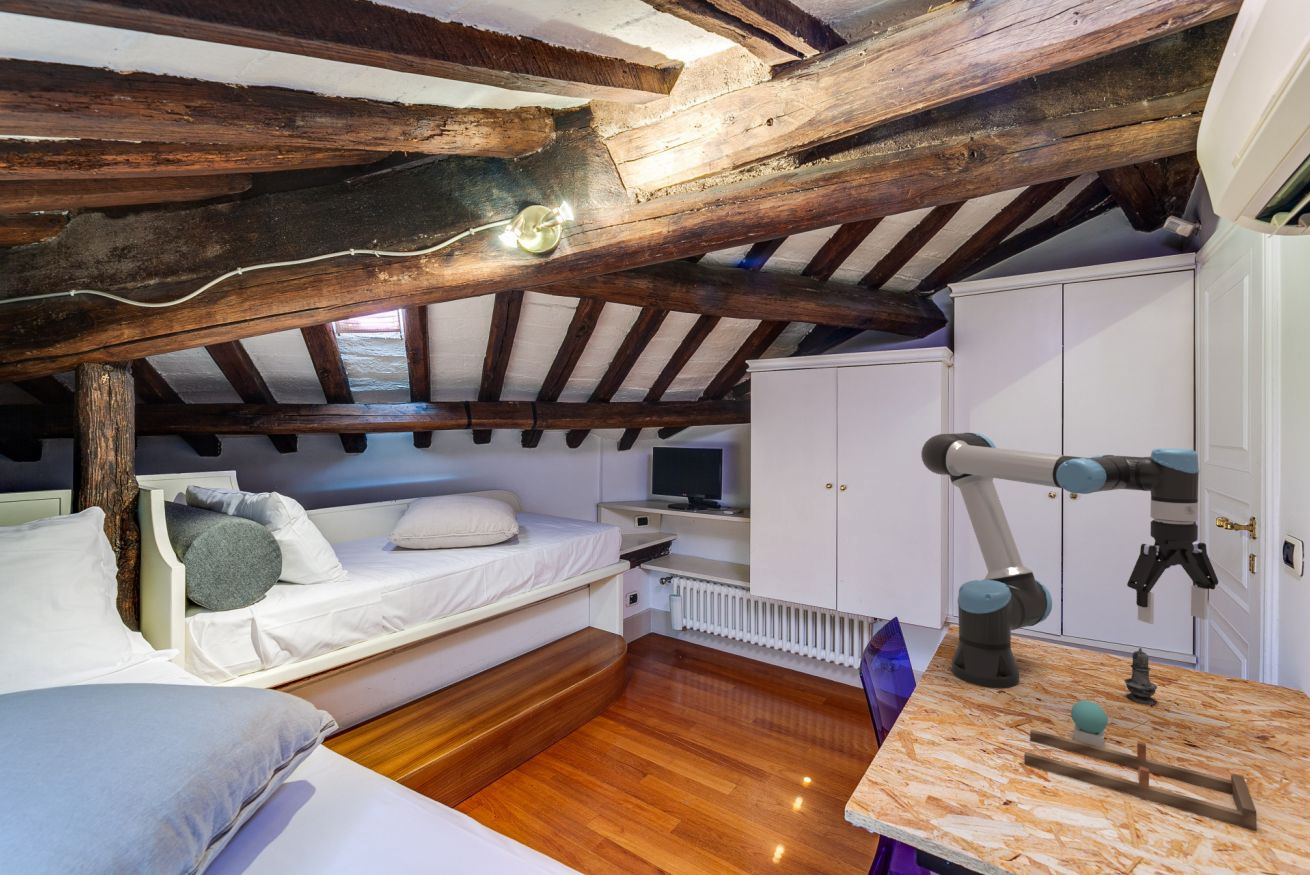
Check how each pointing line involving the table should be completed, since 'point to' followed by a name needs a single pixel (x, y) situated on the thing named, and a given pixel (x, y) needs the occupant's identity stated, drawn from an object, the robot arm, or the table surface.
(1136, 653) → the dark grey chess piece
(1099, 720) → the ball
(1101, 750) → the lane
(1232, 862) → the table surface
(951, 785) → the table surface
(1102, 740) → the white square frame
